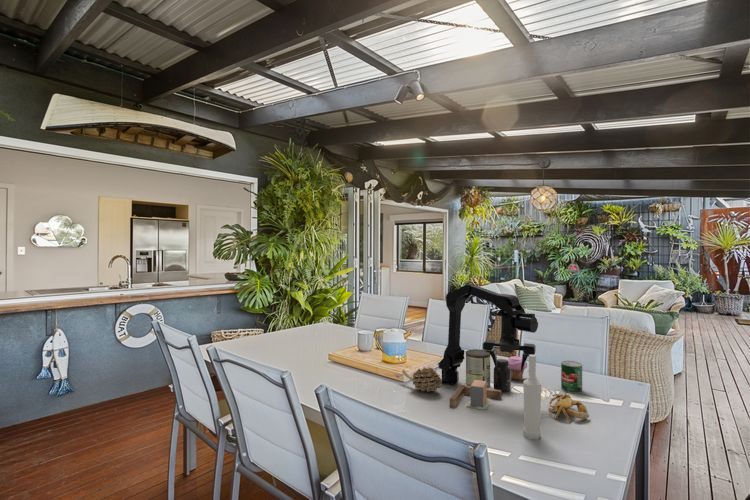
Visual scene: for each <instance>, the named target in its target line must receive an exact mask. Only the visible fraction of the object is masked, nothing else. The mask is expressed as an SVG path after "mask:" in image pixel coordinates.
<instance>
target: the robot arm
mask: <svg viewBox="0 0 750 500" xmlns="http://www.w3.org/2000/svg"><path fill="white" fill-rule="evenodd" d="M471 296H473V297H476V298H479V299H482V300H484V301H487V302H488V303H491V304H493V305H494V306H495V307H496V308H497V309H499V311H498V312H497V313H495V316H499V317H500V325H501V326H500V337H499V343H498V342H496V340H494V339H493V340H492V339H485V340H484V341H483V342H482V350H486V352H489V353H490V358H492V361H493V362H492V363H493V364H494V367H495V368H497V359H498V356H497V354H498V353H497V349H499V351H500V352H501V353H511V354H512V353H514V351H522V352H523V353H522V355H521V357H522V364H521V371H522V370H523V367H524V364H525V361H526V362H527V359H528V358H529V355H536V352H537V351H536V348H537V347H536V345H535V344H534V343H524V344H523V345H520V344H521V343H520V339H519V338H518V335H517V334H518V331H521V332H527V333H534V334H535V333H536V332H537V331H538V328H539V322H538V319H537V317H536V314H535V313H534V312H533V313H532V312H531V313H528V312H526V310H525V309H524V308H523V306H522V304H521V303H520V300H519V298H518V296H516V295H513V294H509V293H508V294H507V293H499V292H496V291H493V290H489V289H487V288H485V287H482V286H478V285H476V284H475V283H465V284H463V286H461V287H459V288H457V289H455V290H454V291H449V292H447V293H446V295H445V303H446V304H445V305H446V309H448V312H449V315H448V317H449V318H448V338H447V340H448V341H447V345H446V348H445V349H444V351H443V352H444V353H443V356H442V359H441V360H440V361H439V362H438V363H437V365H438V369H440V370H441V379H442V382H441V383H442V384H444V385H453V386H456V385H457V383H458V382H459V380H460V379H459V378H460V376H459V374H460V373H459V371H458V368H460V367H461V364H462V363H463V362H464V360H466V357H465V353H466V350H465V349H462V347H461V344H460V343H461V323H462V321H461V320H462V311H463V310H464V307H465V305H466V300H467V299H469V298H470V297H471Z"/></svg>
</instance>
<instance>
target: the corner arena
mask: <svg viewBox="0 0 750 500" xmlns="http://www.w3.org/2000/svg"><path fill="white" fill-rule="evenodd" d="M464 395H467V396H471V386H467V385H466V384H459V386H457V389H456V390H455V391H454V392H453V394H452V395H451V396H450V398H449V407H450V408H454V409H455V408H457V406H458V404H459V403H460V401H461V400H462V398H463V397H464ZM492 399H493V400H494V399H495V400H500V401H501V399H502V392H501V390H496V389H494V388H487V400H486V402H485V404H484V406H483V407H479V406H473V405H471V398H470V400H469V401H468V402H467V404H466V407H467V408H472V409H478V410H482V411H486V410H487V408H488V406H489V404H490V402H491V400H492Z"/></svg>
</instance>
